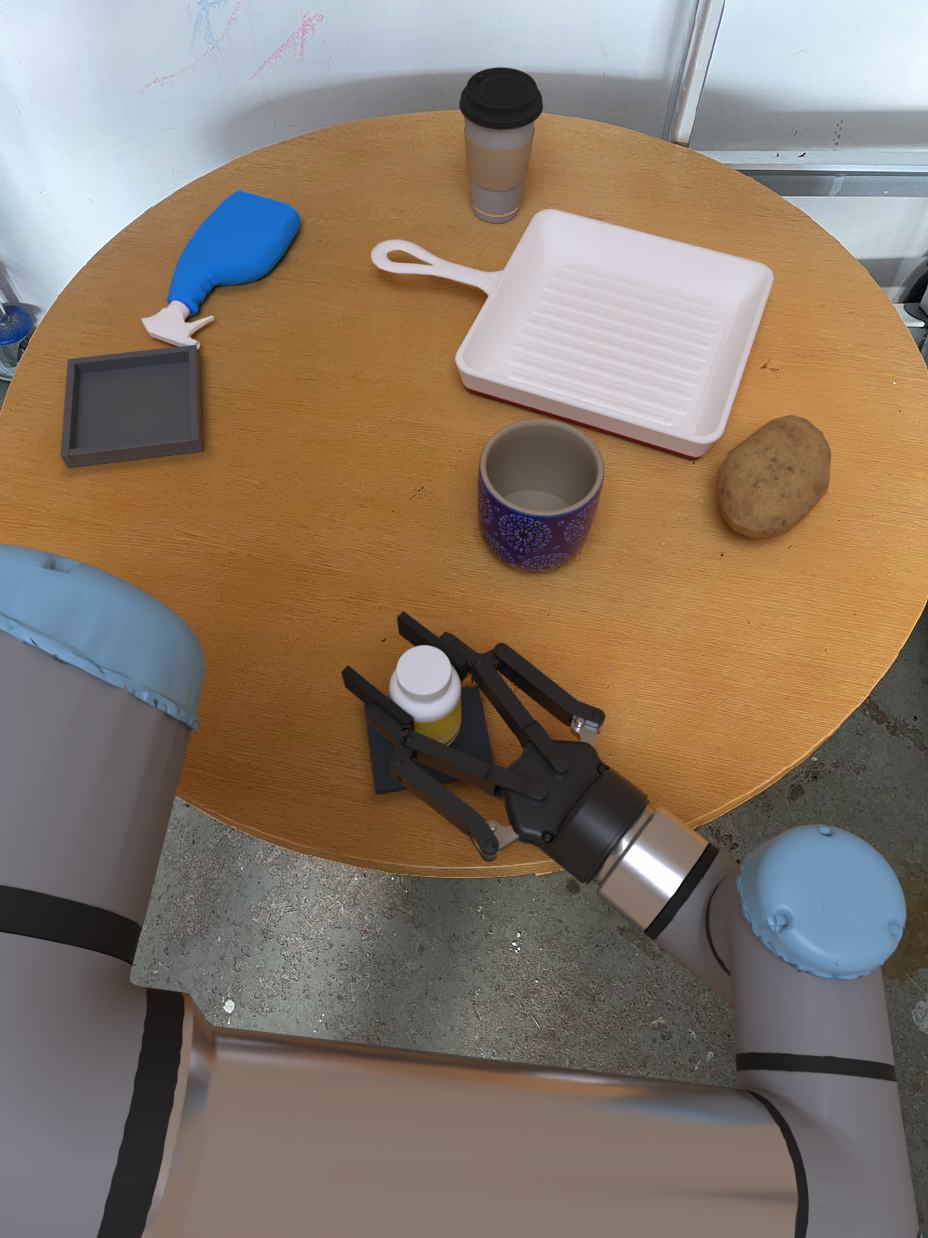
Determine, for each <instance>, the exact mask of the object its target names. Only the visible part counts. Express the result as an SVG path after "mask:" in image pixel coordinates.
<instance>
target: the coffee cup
mask: <svg viewBox="0 0 928 1238" xmlns="http://www.w3.org/2000/svg"><path fill="white" fill-rule="evenodd" d="M458 105H459V106H458V107H459V111H460V112H461V114H462V115H463V120H464V126H463V135H464V137H463V138H464V146H465V157H466V168H467V176H468V179H469V187H470V198H471V207H472V212H473V214H474V215H475V216H476V217H477V218H478V219H480V220H482V221H484V222H486V223H490V224H504V223H507V222H510V221H512V220H513V219H514V218H515V217H517V215H518V213H519V211H520V207H521V200H522V195H523V190H524V184H525V180H526V178H527V174H528V171H529V170H528V169H529V164H530V160H531V159H530V158H531V154H532V147H533V143H534V137H535V130H536V128H535V123H536V121H537V120H538V118H539V117H540V116H541V115H542V113H543V111H544V110H543V109H544V104H543V95H542V93H541V91H540V89H538V85H537V81H536V80H535V79H534V78H533V77H532V76H531V75H530V74H528V73H526V72H525V71H522V70H520V69H517V68H516V69H515V68H512V67H504V66H503V67H489V68H484V69H482V70H480V71H478V72H476V73H474V74H473V75H472V76H470V78H469V79H468V80H467V82H466V86H465V87H464V88H463V90H462V91H461V93H460V99H459V103H458ZM472 204H473V205H472ZM519 204H520V206H519ZM473 206H474V207H476V208H477V209H479V210H481V211H482V212H485V213H487V214H492V215H504V214H507V213H510V212H512V211H514V210H515V209H516V208H517V207H518V206H519V208H518V209H517V210H516V211H515V212H514V213H512V214H510V215H508V216H504V217H491V216H487V215H484V214H482V213H480V212H478V211H477V210H476V209H475V208H474V207H473Z"/></svg>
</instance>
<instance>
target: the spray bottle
mask: <svg viewBox="0 0 928 1238" xmlns="http://www.w3.org/2000/svg"><path fill="white" fill-rule="evenodd" d="M301 223H302V221H301V215H300V214H299V212H298V211H297V210H296V209H295V208H294V207H293V206H292V205H290V204H289V203H286V202H282V201H279V200H275V199H271V198H269V197H266V196H265V197H264V196H261V195H257V194H254V193H251V192H247V191H244V190H241V189H240V190H239V189H238V190H236V191H235V192H233V193H232V194H230V195H229V196H228V197H226V198H225V199H224V200H223V201H222V202H221V203H220V204H219V205H217V207H216V208H215V209H214V210H213V211H212V212H211V213H210V214H209V215H208V216H207V217H206V218H205V219H204V221H203V222H201V223H200V225H199V227H197V229H196V230H195V232H194V233H193V235H192V236H191V237H190V239H189V241H187V243H186V245H185V247H184V249H183V250H182V251H181V253H180V255H179V257H178V259H177V263H176V265H175V269H174V272H173V274H172V278H171V282H170V286H169V289H168V294H167V298H166V302H167V304H168V306H167V307H163V308H162V309H161V310H160V311H159V312H157V313H156V314H154V315H151V316H148V317H142V318H141V322H142V325H143V327H144V329H145V330H146V332H147V333H148V335H149V336H150V337H151V338H154V339H156V340H159V341H161V342H165V343H168V344H171V345H174V346H175V347H180V346H189V345H196V346H197V349H198V350H199V349H200V347H201V343H200V341H199V340H196V339H194V338H192V335H193V334H194V333H195V332H196V331H198V330H200V329H201V328H203V327H204V326H206V325H207V324H208V323H210V322H213V321H214V320H215V317H214V315H210V316H209V315H208V316H207V317H203V318H201V319H198V320H194V321H192V322H185V321H186V319H187V318H188V317H194V316H196V315H197V314H198V312H199V310H200V309H199V308H200V305H201V304H202V303H204V302H205V299H206V297H207V295H209V294H211V291H212V289H213V288H215V287H218V286H219V287H220V286H221V287H223V286H224V287H227V286H228V287H230V286H231V287H232V286H237V285H243V284H250V283H254V282H255V281H257V280H259V279H261V278H263V277H265V276H267V275H268V274H269V273H270V272H272V269H273V268H275V266H276V265H277V264H278V263H279V261H280V260H281V259H282V258H283V257H284V255H285V254H286V252H287V250H288V248H289V247H290V245H291V243H292V242H293V240H294V239H295V237H296V235H297V234H298V232H299V231H300V228H301Z"/></svg>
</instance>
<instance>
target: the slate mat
mask: <svg viewBox="0 0 928 1238" xmlns="http://www.w3.org/2000/svg"><path fill="white" fill-rule="evenodd" d="M480 692H481V691H480V688H479V687H478V686H477V685H473V686H465V687H461V727H460V730H459V733H458V735H457V736H456V738H455V739H454V740H453V742H452V743H451V744H449V745H448V746H450V747H452V748H454V749H457V750H459V751H461V752H463V753H466V754H468V755H470V756H473V757H475V758H477V759H480V760H482V761H484V762H486V763H489V764H495V763H494V758H493V753H492V748H491V744H490V739H489V738H490V737H489V732H488V727H487V723H486V718H485V712H484V708H483V701H482V697H481V693H480ZM363 705H364V706H363V707H364V713H365V722H366V729H367V738H368V745H369V746H368V747H369V754H370V761H371V762H370V763H371V769H372V778H373V786H374V792H375V795H377V796H378V795H385V794H390V793H397V792H402V791H409V790H408V789H407V788H406V787H404V786H403V785H402V784H400V783H399V782H398V781H397V780H395V779H394V778H393V776H392V773H391V768H390V763H389V761H390V758H391V756H392V755H393V754H394V752H395V749H396V746H395V745H394V744H393V743H391V742H390V741H389V740H388V739H387V738H385V737H384V736H383V735H382V734H381V733H379V732H378V731H377V730H376V729H374V728H373V727H372V726H371V725H370V723H369V721H368V718H367V714H366V712H367V711H368V710H369V709H370V707H368V706H367V705H366V704H365V703H363ZM412 762H413V763H415V764H416V765H417V766H419V767H420V768H421V769H423V770H424V771H425V772H426V773H428V774H429V775H430V776H432V777H433V778H434V779H435V780H437V781H438V782H439V783H441V784H442V785H445V784H453V783H457V782H458V783H459V782H462V781H461V780H458V779H456V778H454V777H452V776H449V775H447V774H445V773H443V772H440V771H438V770H436V769H434V768H431V767H429V766H427V765H425V764H422V763H420V762H418V761H415V760H413V761H412Z"/></svg>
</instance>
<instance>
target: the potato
mask: <svg viewBox="0 0 928 1238" xmlns="http://www.w3.org/2000/svg"><path fill="white" fill-rule="evenodd" d="M831 451H832V450H831V448H830V445H829V442H828V440H827V439H826V437H825V435H824V433H823V431H822V430H820V429H819V428H818V427H817V426H816V425H815V424H813V423H812V421H809V419H807V418H805V417H801V416H798V415H794V414H788V415H784V416H780V417H777V418H773V419H771V420H769V421H768V422H767V423H765V424H763V425H762V426H761V427H759V428H758V429H757V430H755V431H754V432H752V433H751V434H750V435H748V436H747V437H746V438H745V439H744V440H742V441H741V442H740V443H739V444H737V445H736V446H735V447H734V448H732V449H731V450H730V451H728V453H727V455H726V457H725V458H724V460H723V462H722V463H721V466H720V467H719V469H718V498H719V508H720V513H721V516H722V519H723V520H724V522H725V523H726V524H727V525H728V527H730V529H731V530H732V531H733V532H735V533H738V534H740V535H743V536H745V537H748V538H751V539H769V538H775V537H778V536H780V535H782V534H785V533H788V532H790V531H791V530H792V529H794V528H795V527H796V526H798V525H800V523H801V522H802V521H803V520H804V519H805V518H806V517H807V516H808V515H809V514H810V513H811V511H812V510H813V509H814V508H815V507H816V506H817V504H818V503H819V502H820V501H821V499H823V498H824V497H825V495H826V494H827V493H828V491H829V484H830V480H831V479H830V478H831V461H832V452H831Z"/></svg>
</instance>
